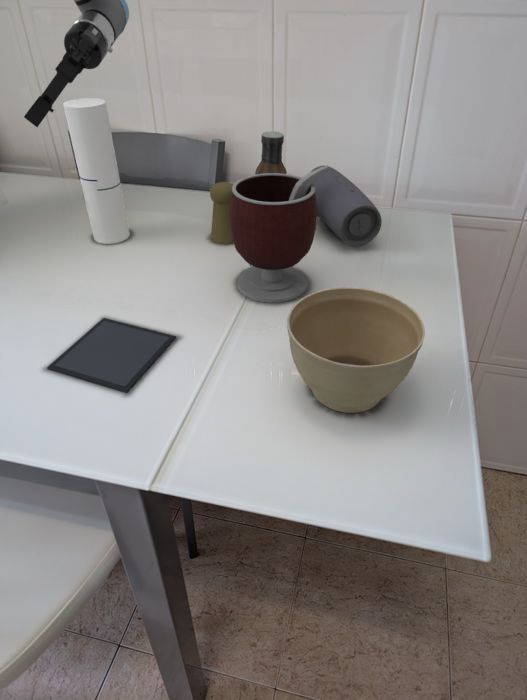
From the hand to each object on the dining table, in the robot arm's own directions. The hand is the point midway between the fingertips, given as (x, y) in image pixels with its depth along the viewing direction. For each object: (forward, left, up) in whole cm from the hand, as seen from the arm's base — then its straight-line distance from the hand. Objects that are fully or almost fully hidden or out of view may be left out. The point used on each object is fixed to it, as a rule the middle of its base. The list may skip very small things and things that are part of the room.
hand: (46, 99), depth 88 cm
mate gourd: (+46, -5, -25) cm, 53 cm away
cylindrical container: (+8, 0, -25) cm, 26 cm away
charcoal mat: (+31, -32, -25) cm, 51 cm away
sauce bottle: (+38, +12, -25) cm, 47 cm away
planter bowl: (+64, -27, -25) cm, 74 cm away
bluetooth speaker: (+50, +21, -25) cm, 60 cm away
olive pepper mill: (+30, +8, -25) cm, 40 cm away
